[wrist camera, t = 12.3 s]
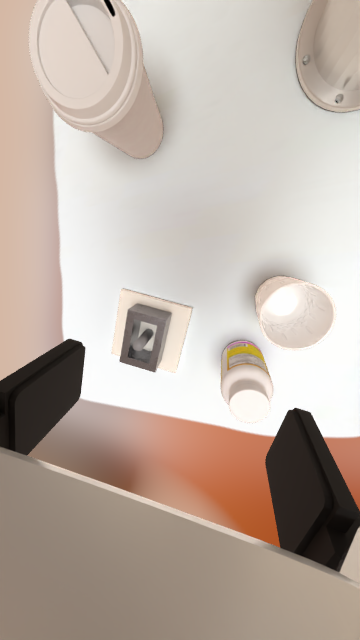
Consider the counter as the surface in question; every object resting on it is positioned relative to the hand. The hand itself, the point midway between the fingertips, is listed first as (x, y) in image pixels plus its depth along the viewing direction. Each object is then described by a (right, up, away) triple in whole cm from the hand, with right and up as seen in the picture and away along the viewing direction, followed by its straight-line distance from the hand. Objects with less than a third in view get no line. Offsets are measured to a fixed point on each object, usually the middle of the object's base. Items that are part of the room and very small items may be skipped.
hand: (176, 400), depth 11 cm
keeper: (-5, +2, +31) cm, 31 cm away
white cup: (+15, +7, +25) cm, 30 cm away
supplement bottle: (+10, -3, +29) cm, 31 cm away
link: (-5, +1, +30) cm, 30 cm away
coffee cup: (-5, +29, +22) cm, 37 cm away
